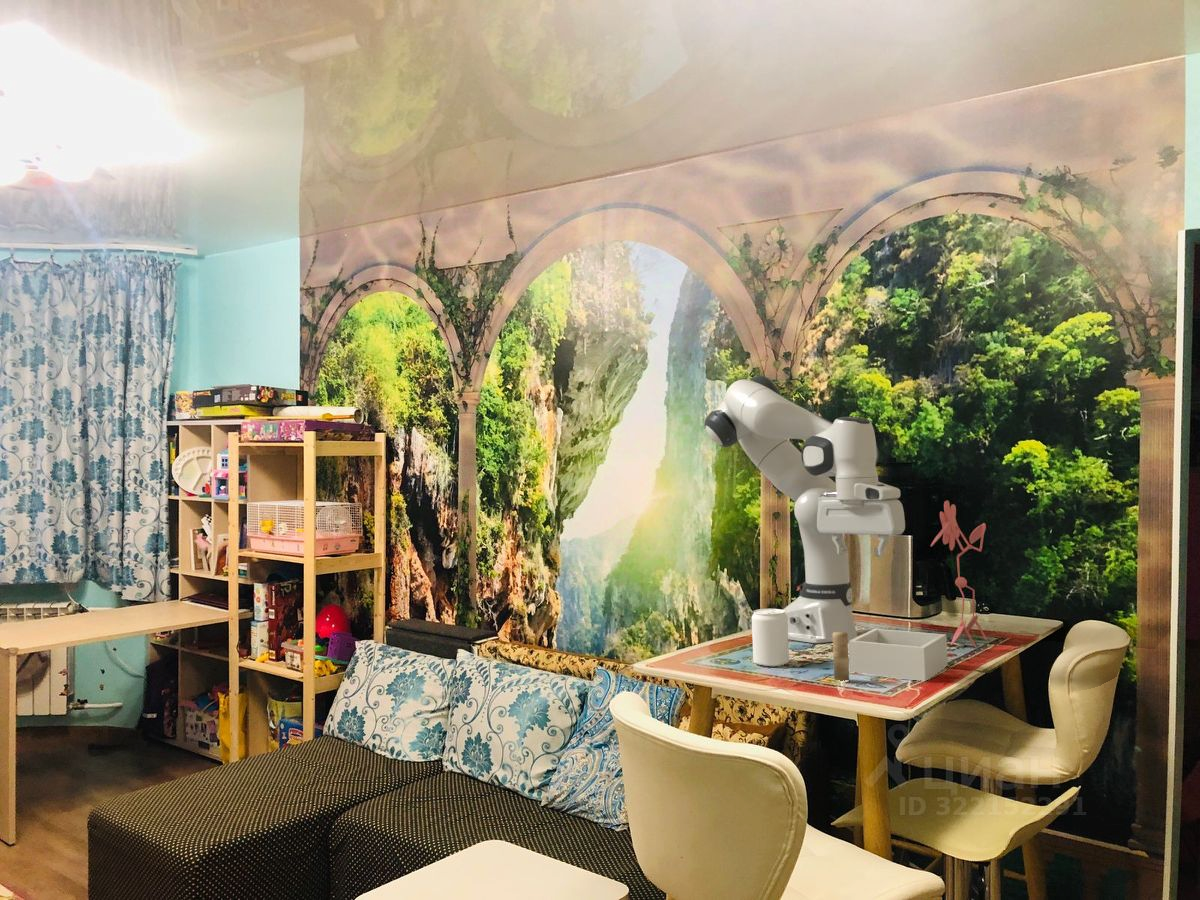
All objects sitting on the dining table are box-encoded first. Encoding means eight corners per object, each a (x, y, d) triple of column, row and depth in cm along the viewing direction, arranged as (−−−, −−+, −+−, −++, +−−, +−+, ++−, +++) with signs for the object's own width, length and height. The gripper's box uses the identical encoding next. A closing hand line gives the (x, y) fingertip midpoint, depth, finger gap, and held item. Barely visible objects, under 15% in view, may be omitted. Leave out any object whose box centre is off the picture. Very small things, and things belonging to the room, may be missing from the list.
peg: (832, 682, 189) (830, 634, 189) (837, 678, 191) (835, 631, 191) (846, 683, 187) (844, 635, 187) (851, 680, 189) (849, 632, 189)
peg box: (849, 673, 195) (848, 641, 195) (875, 659, 208) (874, 628, 208) (925, 682, 186) (923, 648, 186) (947, 666, 199) (946, 634, 199)
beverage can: (746, 662, 210) (744, 610, 210) (776, 658, 213) (773, 607, 213) (766, 669, 202) (764, 615, 202) (796, 664, 205) (794, 611, 205)
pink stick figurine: (1000, 634, 230) (991, 496, 231) (968, 654, 210) (958, 503, 211) (939, 630, 239) (930, 498, 240) (903, 648, 219) (893, 504, 220)
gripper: (809, 492, 201) (812, 554, 201) (889, 491, 185) (893, 558, 185) (826, 491, 205) (829, 552, 205) (907, 489, 189) (910, 555, 189)
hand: (860, 555), depth 195 cm, fingers open, 8 cm apart
